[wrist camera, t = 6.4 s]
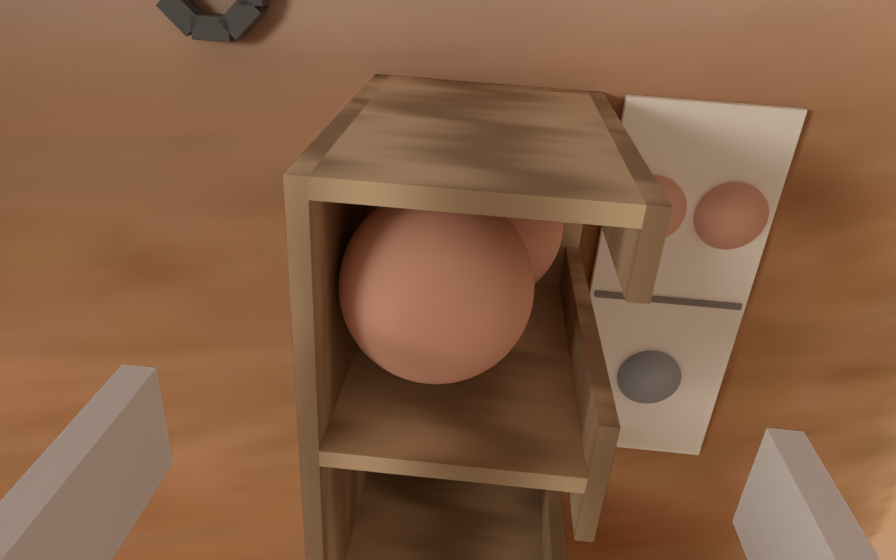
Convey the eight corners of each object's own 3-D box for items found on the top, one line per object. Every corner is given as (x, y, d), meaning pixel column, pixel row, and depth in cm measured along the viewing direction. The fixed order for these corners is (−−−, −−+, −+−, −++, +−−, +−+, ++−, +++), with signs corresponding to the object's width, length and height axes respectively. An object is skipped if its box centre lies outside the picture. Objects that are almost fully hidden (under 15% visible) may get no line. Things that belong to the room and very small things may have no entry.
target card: (562, 436, 35) (563, 444, 34) (625, 94, 26) (627, 97, 26) (696, 449, 34) (699, 458, 34) (803, 108, 26) (809, 111, 26)
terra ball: (428, 159, 23) (296, 184, 19) (583, 199, 20) (472, 239, 15) (414, 314, 25) (295, 370, 21) (552, 371, 22) (448, 451, 18)
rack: (372, 417, 35) (310, 641, 24) (375, 74, 27) (282, 174, 16) (545, 434, 35) (563, 670, 24) (603, 92, 26) (672, 207, 15)
